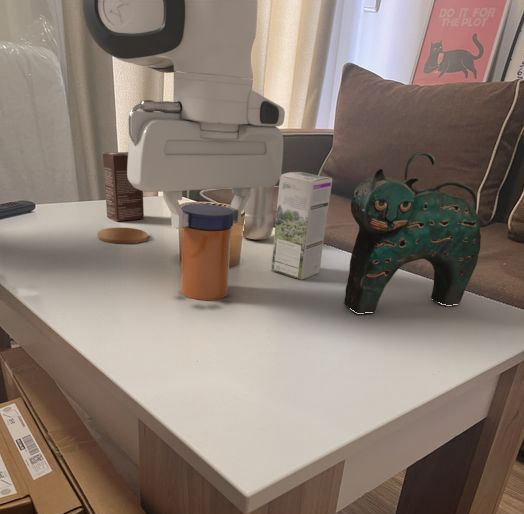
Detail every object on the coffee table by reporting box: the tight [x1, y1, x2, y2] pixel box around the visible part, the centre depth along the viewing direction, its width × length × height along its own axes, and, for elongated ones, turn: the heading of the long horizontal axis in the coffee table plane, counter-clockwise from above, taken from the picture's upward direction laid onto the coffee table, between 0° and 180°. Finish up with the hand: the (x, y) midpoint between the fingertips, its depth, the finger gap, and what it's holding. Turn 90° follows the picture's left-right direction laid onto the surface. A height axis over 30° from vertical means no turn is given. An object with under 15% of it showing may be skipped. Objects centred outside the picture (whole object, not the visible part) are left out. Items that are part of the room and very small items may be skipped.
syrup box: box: [270, 171, 333, 280], centre depth 78 cm, size 6×6×14 cm
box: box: [102, 151, 145, 222], centre depth 99 cm, size 6×4×12 cm
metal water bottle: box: [242, 185, 276, 241], centre depth 92 cm, size 6×7×20 cm
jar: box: [180, 226, 233, 301], centre depth 68 cm, size 6×6×10 cm
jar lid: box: [181, 203, 234, 230], centre depth 66 cm, size 6×6×2 cm
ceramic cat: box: [343, 151, 482, 313], centre depth 68 cm, size 20×6×20 cm, turn 112°
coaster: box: [97, 227, 149, 245], centre depth 90 cm, size 8×8×1 cm
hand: (207, 224), depth 66 cm, fingers closed on jar lid, 6 cm apart
